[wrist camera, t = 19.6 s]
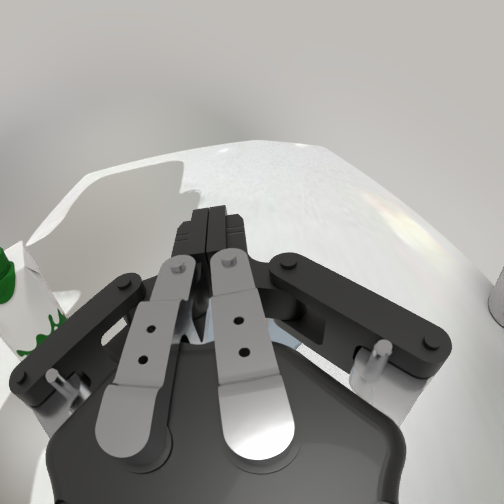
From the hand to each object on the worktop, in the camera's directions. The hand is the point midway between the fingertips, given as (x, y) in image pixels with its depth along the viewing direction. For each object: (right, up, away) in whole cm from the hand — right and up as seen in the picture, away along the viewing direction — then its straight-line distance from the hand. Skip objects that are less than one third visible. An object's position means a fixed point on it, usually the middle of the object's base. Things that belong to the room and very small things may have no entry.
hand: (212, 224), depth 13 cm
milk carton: (-24, -18, +18) cm, 35 cm away
